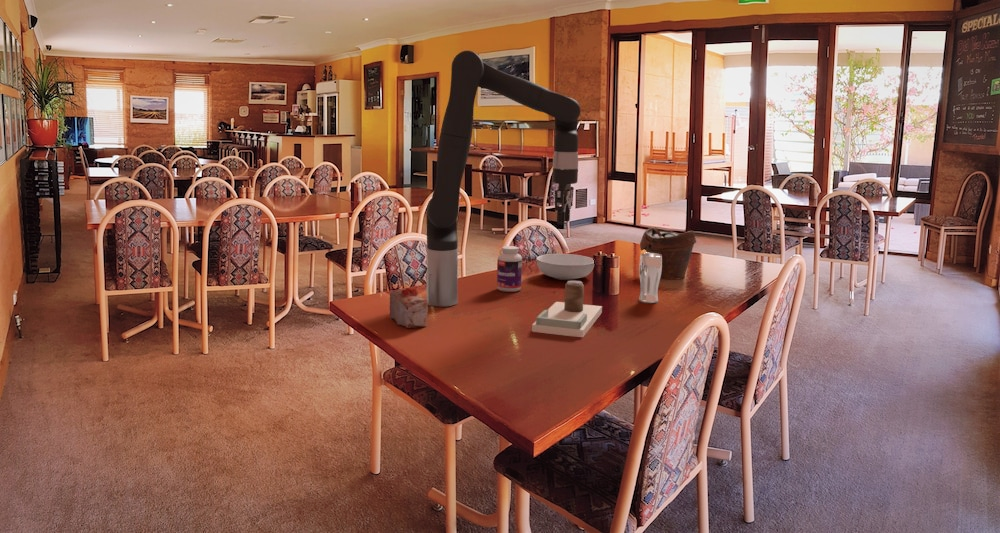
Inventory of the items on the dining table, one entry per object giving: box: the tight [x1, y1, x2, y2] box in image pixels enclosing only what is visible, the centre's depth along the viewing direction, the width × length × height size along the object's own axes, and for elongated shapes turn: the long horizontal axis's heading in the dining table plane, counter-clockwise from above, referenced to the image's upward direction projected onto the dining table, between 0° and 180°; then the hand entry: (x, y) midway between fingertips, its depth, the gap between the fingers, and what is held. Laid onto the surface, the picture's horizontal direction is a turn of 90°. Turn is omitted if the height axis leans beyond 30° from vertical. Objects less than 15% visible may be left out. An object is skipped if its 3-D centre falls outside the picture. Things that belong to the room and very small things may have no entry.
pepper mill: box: [564, 280, 585, 312], centre depth 211 cm, size 5×5×8 cm
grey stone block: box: [389, 288, 429, 329], centre depth 202 cm, size 14×8×10 cm, turn 32°
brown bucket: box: [639, 227, 697, 280], centre depth 266 cm, size 18×20×18 cm
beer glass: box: [638, 252, 662, 304], centre depth 229 cm, size 7×7×15 cm
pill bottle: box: [496, 245, 523, 293], centre depth 241 cm, size 8×8×14 cm
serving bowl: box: [536, 253, 595, 281], centre depth 261 cm, size 21×21×7 cm
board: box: [531, 301, 603, 338], centre depth 206 cm, size 26×14×4 cm, turn 161°
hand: (563, 222), depth 220 cm, fingers open, 6 cm apart
